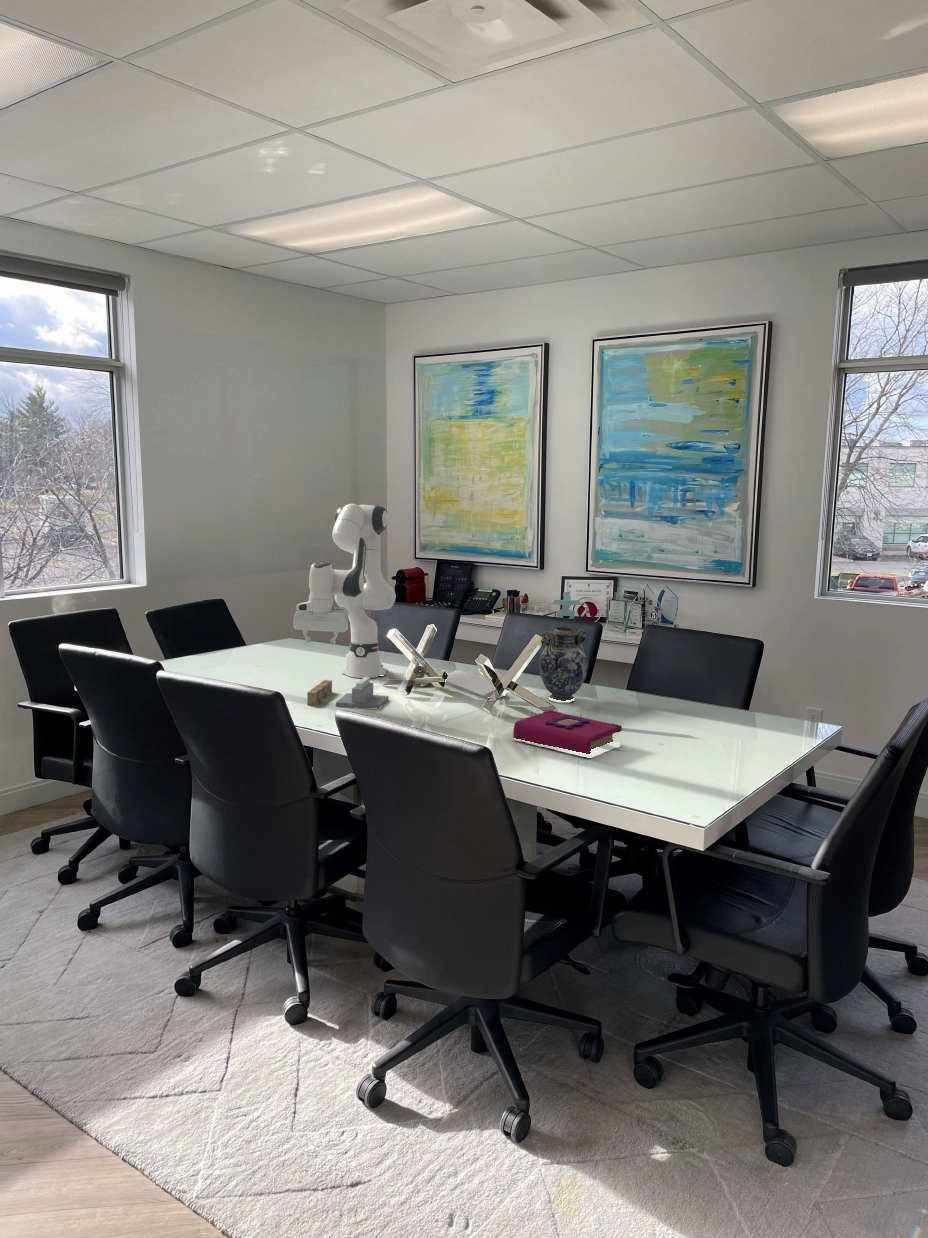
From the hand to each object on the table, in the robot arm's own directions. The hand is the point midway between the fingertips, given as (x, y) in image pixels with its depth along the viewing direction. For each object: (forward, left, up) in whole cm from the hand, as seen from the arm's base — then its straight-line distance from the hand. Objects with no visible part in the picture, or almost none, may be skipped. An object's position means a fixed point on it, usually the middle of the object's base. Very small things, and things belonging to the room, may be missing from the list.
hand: (320, 642), depth 332 cm
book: (+37, +93, -22) cm, 103 cm away
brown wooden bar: (0, 0, -21) cm, 21 cm away
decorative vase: (-23, +89, -21) cm, 94 cm away
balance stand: (+3, +17, -21) cm, 27 cm away
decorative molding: (-32, +53, -22) cm, 66 cm away
